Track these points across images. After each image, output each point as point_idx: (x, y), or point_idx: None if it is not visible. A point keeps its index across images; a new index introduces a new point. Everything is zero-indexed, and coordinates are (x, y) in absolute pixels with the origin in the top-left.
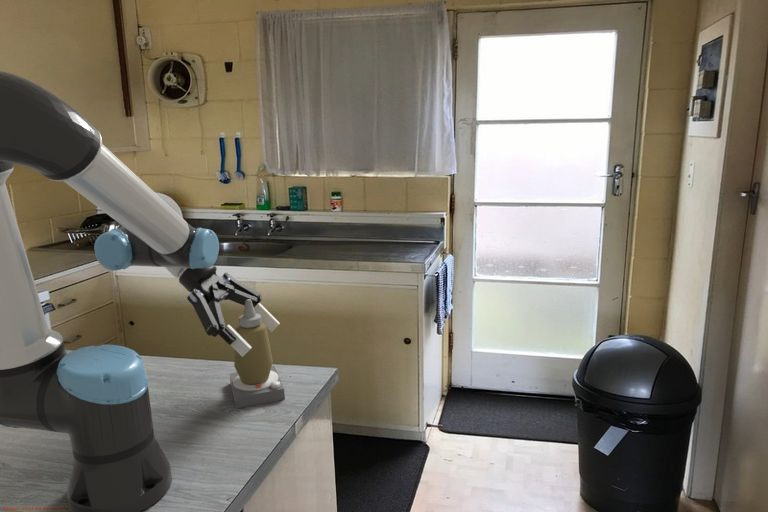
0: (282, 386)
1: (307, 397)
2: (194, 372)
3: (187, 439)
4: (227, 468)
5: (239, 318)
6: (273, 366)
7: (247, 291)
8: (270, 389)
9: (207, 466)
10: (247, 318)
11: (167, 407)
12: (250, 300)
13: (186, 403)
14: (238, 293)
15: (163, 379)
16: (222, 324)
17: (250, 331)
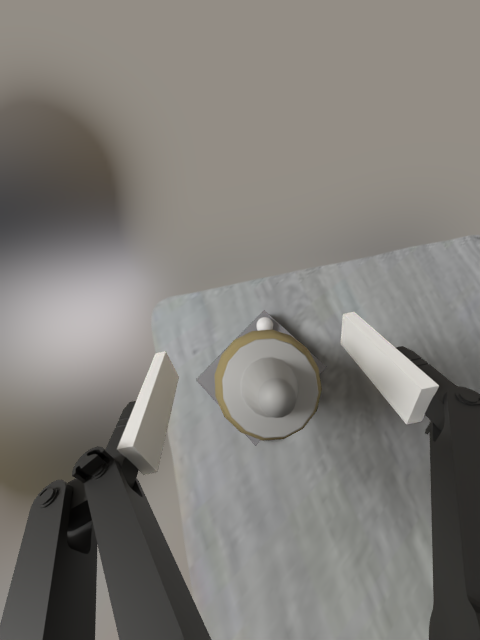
0: (258, 317)
1: (245, 287)
2: (246, 555)
3: None
4: (440, 276)
5: (307, 416)
6: (198, 379)
7: (57, 587)
8: (275, 328)
9: (453, 301)
10: (297, 375)
11: (378, 491)
12: (276, 378)
13: (349, 465)
14: (163, 601)
15: (299, 607)
16: (476, 396)
17: (303, 352)
